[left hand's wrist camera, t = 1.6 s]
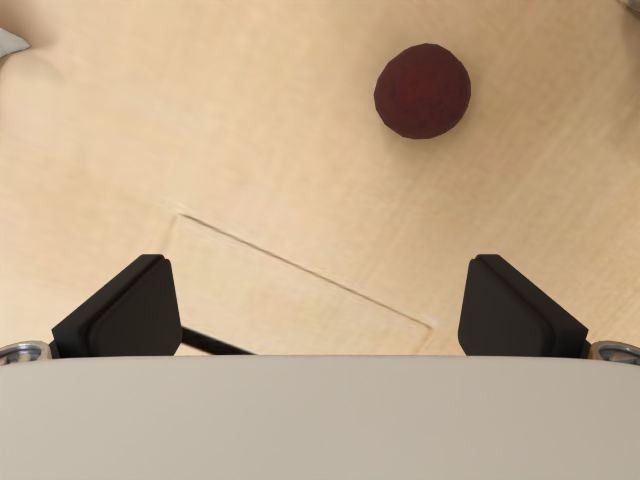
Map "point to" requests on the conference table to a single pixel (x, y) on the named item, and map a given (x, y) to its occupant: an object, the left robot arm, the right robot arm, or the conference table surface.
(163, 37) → the conference table surface
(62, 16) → the conference table surface
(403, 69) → the potato
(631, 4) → the drawer
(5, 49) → the crumpled snack bag
